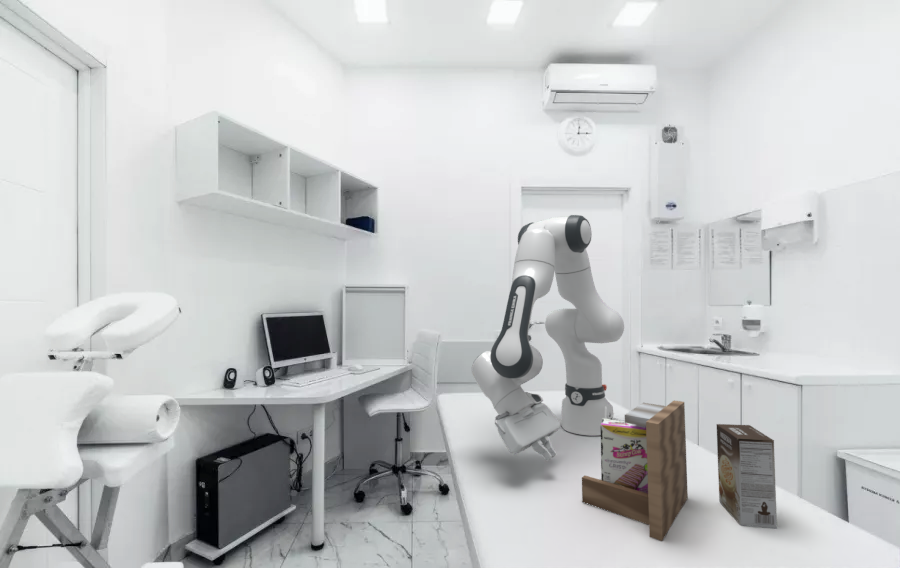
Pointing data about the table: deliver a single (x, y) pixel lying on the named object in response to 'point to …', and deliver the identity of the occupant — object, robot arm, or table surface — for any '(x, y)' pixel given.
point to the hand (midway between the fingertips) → (552, 457)
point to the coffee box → (747, 475)
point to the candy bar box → (624, 454)
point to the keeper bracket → (650, 472)
